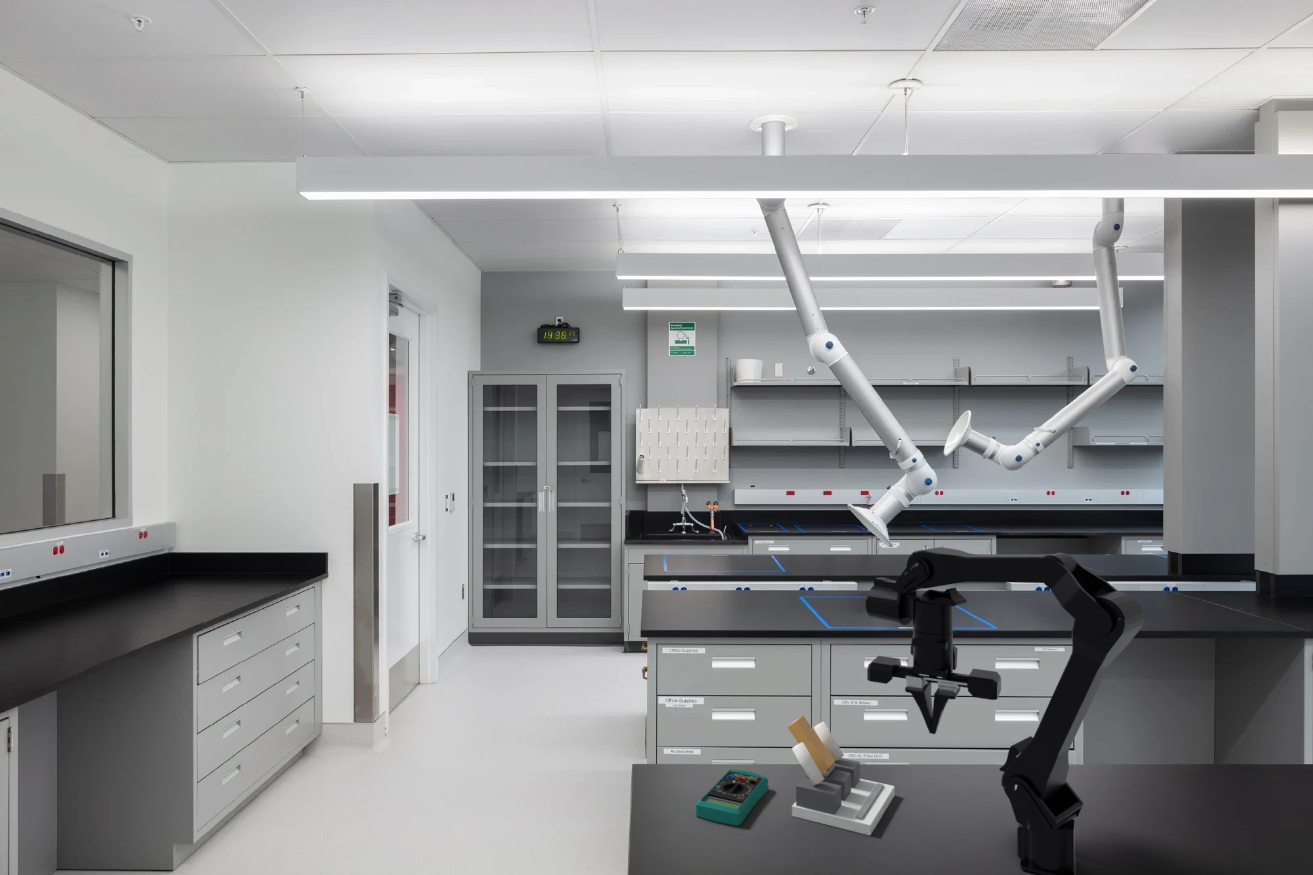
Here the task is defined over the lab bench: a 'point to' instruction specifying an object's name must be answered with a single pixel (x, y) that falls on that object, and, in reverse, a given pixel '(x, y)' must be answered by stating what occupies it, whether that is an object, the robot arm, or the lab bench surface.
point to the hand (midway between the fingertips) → (933, 733)
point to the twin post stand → (839, 791)
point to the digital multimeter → (732, 797)
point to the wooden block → (812, 745)
